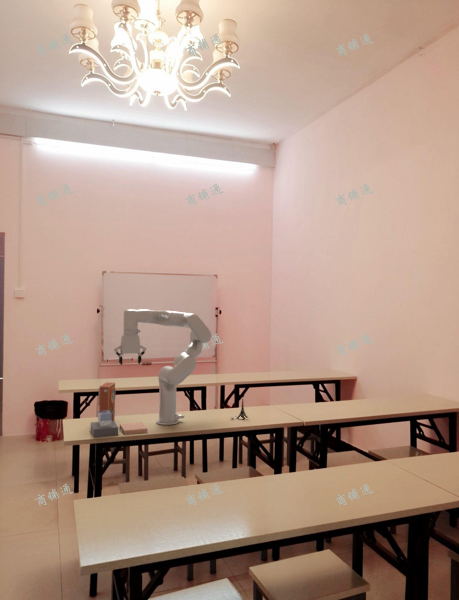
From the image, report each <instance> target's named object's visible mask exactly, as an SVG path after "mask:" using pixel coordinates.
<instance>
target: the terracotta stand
mask: <svg viewBox="0 0 459 600" xmlns="http://www.w3.org/2000/svg"><path fill="white" fill-rule="evenodd" d="M119 429H120V430H121V432H122V434H123V435H125V436H126V435H133V434H144V433H148V430H149V429H148V428H147V426H146V425H145V424H144V423H143V421H141V422H140V421H139V422H138V421H137V422H130V423H129V422H127V423H119Z"/></svg>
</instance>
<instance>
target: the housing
mask: <svg viewBox="0 0 459 600" xmlns="http://www.w3.org/2000/svg"><path fill="white" fill-rule="evenodd" d="M111 418H112V414H111V412H110V411H109V410H103V411H99V410H97V422H98V424H99V426H100V427H111Z"/></svg>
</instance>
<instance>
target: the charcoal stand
mask: <svg viewBox="0 0 459 600" xmlns="http://www.w3.org/2000/svg"><path fill="white" fill-rule="evenodd" d="M90 431H91V432H90V433H91V434H92V436H93V438H101V437H111V436H112V437H113V436H119V426H118V424H117V423H116V422H115V420H114V421H111V427H100V426H99V424H98V421H96V422H95V421H93V422H90Z"/></svg>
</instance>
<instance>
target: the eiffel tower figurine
mask: <svg viewBox="0 0 459 600" xmlns="http://www.w3.org/2000/svg"><path fill="white" fill-rule="evenodd" d="M241 400H242V401H241V409H240V413H239V414H238V415H237V416H238V417H237V416H236V417H237V418H236V420H240V419H239V417H240V416H241V417H242V418H243V420H242V421H245V420H244V418H249V417H248V415H247V414H246V412H245V408H244V398H241ZM244 416H245V417H244Z"/></svg>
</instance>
